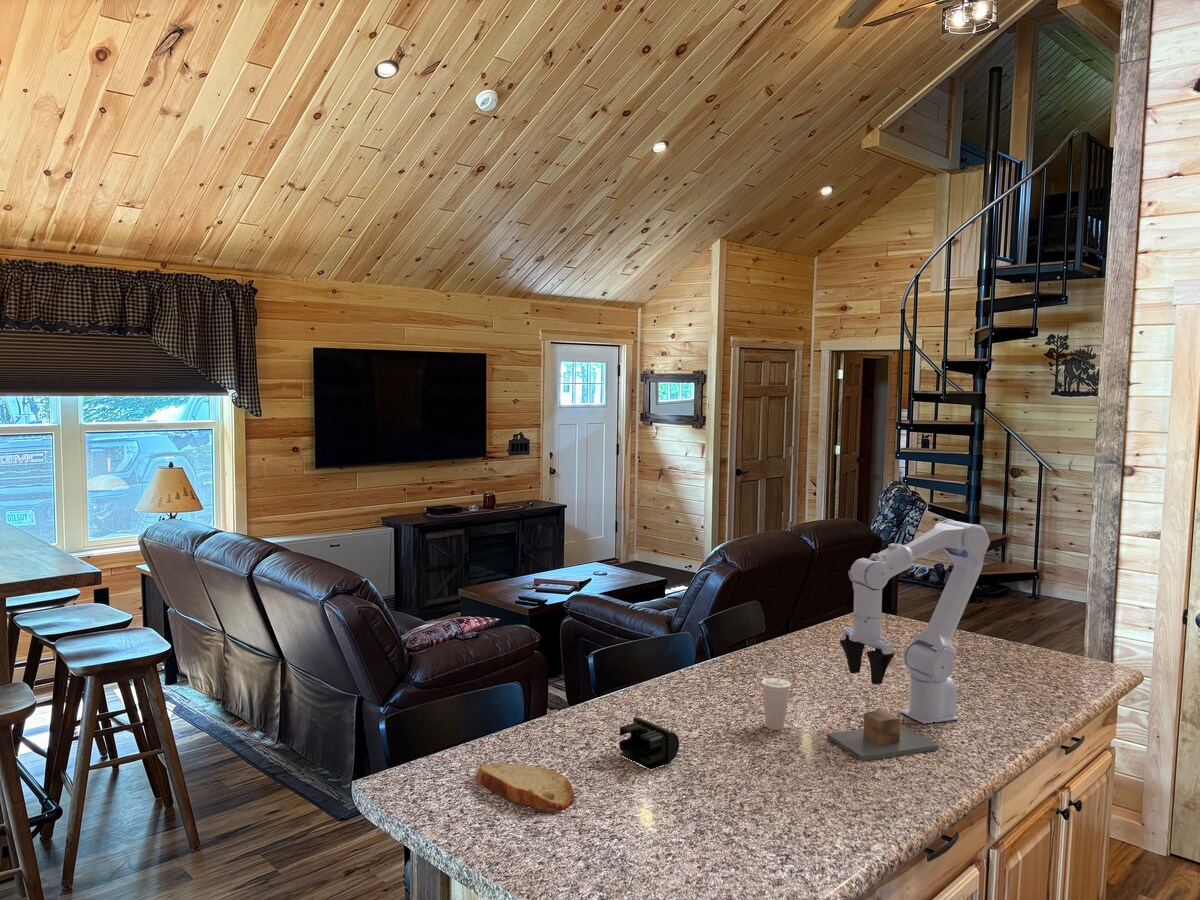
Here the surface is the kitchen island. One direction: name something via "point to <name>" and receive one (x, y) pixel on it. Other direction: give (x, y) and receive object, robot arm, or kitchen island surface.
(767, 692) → the smoothie
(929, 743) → the board
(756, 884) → the kitchen island surface
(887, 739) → the cube
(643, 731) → the end cap
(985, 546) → the robot arm
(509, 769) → the slice of bread
